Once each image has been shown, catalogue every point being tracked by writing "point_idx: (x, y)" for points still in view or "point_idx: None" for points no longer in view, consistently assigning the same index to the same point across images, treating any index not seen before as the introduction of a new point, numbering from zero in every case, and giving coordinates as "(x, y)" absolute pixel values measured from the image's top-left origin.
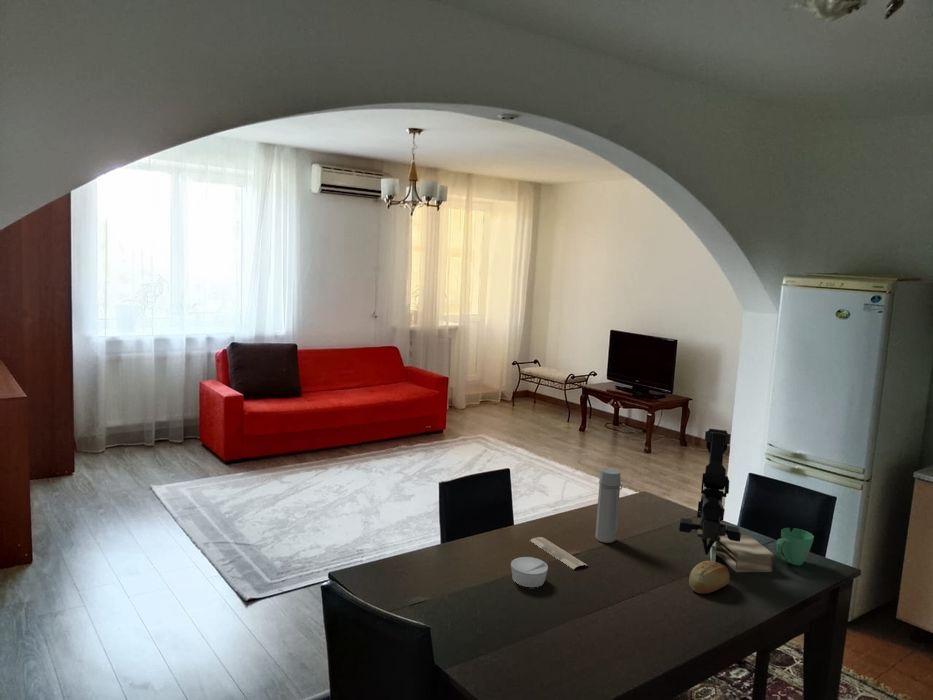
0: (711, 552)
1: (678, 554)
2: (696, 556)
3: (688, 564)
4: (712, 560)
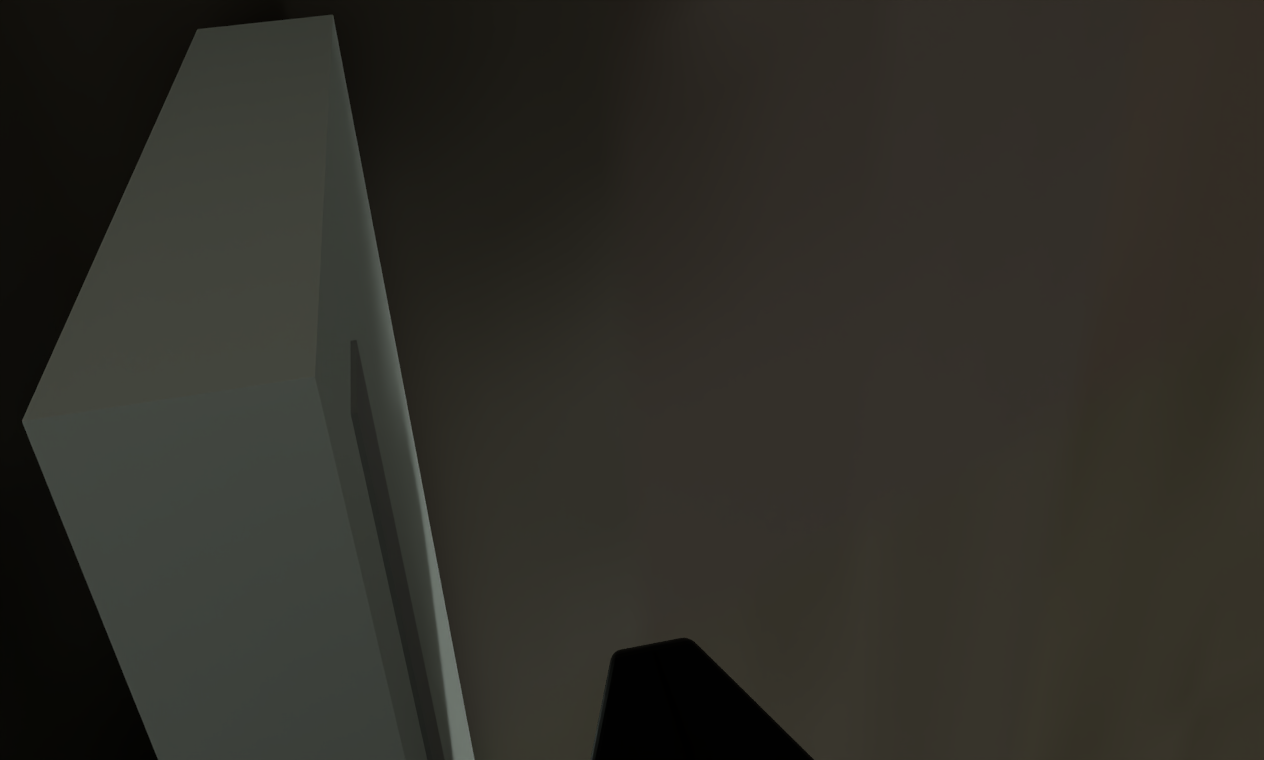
0: None
1: (1256, 564)
2: (827, 707)
3: (1107, 82)
4: (299, 151)
